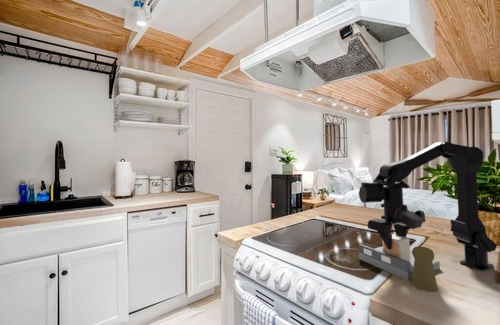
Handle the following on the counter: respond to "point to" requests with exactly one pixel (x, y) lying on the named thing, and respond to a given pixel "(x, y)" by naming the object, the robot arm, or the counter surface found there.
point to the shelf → (390, 261)
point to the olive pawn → (424, 269)
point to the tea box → (398, 247)
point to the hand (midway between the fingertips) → (395, 247)
